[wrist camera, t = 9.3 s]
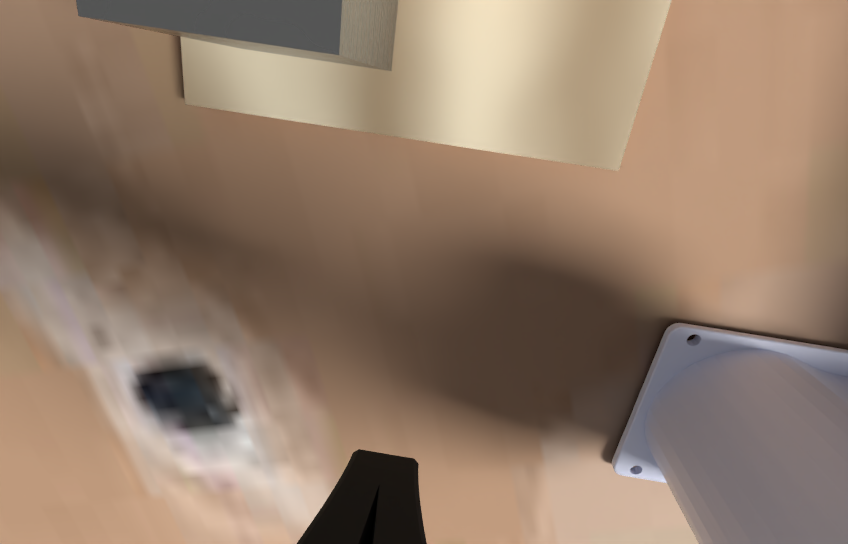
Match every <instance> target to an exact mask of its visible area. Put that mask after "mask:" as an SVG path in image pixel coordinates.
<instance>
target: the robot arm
mask: <svg viewBox="0 0 848 544" xmlns="http://www.w3.org/2000/svg"><path fill="white" fill-rule="evenodd" d="M695 334H696V336H695V338H694V339H692V340H690V341H687V338H688V337H689V336H691V335H695ZM612 466H613V468H614V471H615V472H616V473H617V474H619V475H623V476H629V477H634V478H640V479H646V480H652V481H658V482H664V483H667V484H668V485H669V487H670V489H671V491H672V493H673V495H674V497H675V499H676V501H677V503H678V505H679V506H680V508H681V510H682V512H683V514H684V516H685V518H686V520H687V522H688V524H689V525H690V527H691V529H692V531H693V533H694V535H695V537H696V539H697V541H698V543H699V544H848V350H846V349H840V348H834V347H828V346H821V345H815V344H809V343H803V342H797V341H790V340H784V339H778V338H772V337H766V336H759V335H753V334H747V333H741V332H735V331H728V330H722V329H716V328H710V327H703V326H697V325H691V324H685V323H675V324H672V325H671V326H669V327H668V328H667V329H666V331H665V333H664V335H663V337H662V340H661V342H660V345H659V347H658V350H657V352H656V354H655V357H654V359H653V362H652V364H651V367H650V369H649V372H648V374H647V376H646V379H645V381H644V384H643V386H642V389H641V391H640V394H639V396H638V398H637V401H636V403H635V406H634V408H633V411H632V413H631V416H630V418H629V420H628V423H627V425H626V428H625V430H624V433H623V435H622V437H621V440H620V442H619V445H618V447H617V450H616V452H615V455H614V457H613V459H612ZM633 466H636V467H633ZM297 544H427V543H426V538H425V532H424V526H423V520H422V513H421V506H420V497H419V485H418V463H417V462H416V460H415V459H413V458H407V457H401V456H395V455H389V454H383V453H377V452H371V451H365V450H360V449H359V450H357V451H355V452H353V454H352V457H351V459H350V461H349V463H348V465H347V467H346V469H345V470H344V472H343V474H342V476H341V478H340V479H339V481H338V483H337V484H336V486H335V488H334V489H333V491H332V492H331V494H330V496H329V497H328V499H327V500H326V502H325V504H324V505H323V507H322V508H321V509H320V511H319V512H318V514H317V515H316V517H315V518H314V520H313V521H312V523H311V524H310V525H309V527H308V528H307V530H306V531H305V533H304V534H303V536H302V537H301V538H300V540H299V541H298V542H297Z"/></svg>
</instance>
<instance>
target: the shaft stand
mask: <svg viewBox="0 0 848 544" xmlns="http://www.w3.org/2000/svg"><path fill="white" fill-rule="evenodd" d="M76 2H77V9H78V16H81V17H86V18H91V19H96V20H100V21H105V22H110V23H115V24H120V25H125V26H130V27H135V28H140V29H145V30H150V31H155V32H160V33H165V34H170V35H175V36H180V39H181V53H182V68H183V82H184V96H185V104H186V105H193V106H199V107H206V108H212V109H218V110H225V111H231V112H238V113H244V114H251V115H257V116H264V117H270V118H277V119H283V120H290V121H296V122H303V123H309V124H316V125H322V126H329V127H335V128H342V129H348V130H355V131H361V132H368V133H374V134H381V135H387V136H394V137H400V138H407V139H413V140H420V141H426V142H433V143H439V144H446V145H452V146H459V147H465V148H472V149H478V150H485V151H491V152H498V153H504V154H510V155H517V156H523V157H530V158H536V159H543V160H549V161H556V162H562V163H569V164H575V165H582V166H588V167H595V168H601V169H608V170H614V171H619V168H620V165H621V162H622V158H623V155H624V152H625V149H626V145H627V142H628V139H629V136H630V133H631V129H632V126H633V123H634V120H635V116H636V113H637V110H638V107H639V104H640V100H641V97H642V94H643V91H644V87H645V84H646V81H647V78H648V75H649V71H650V68H651V65H652V62H653V58H654V55H655V52H656V49H657V46H658V42H659V39H660V36H661V33H662V29H663V26H664V23H665V20H666V17H667V13H668V10H669V7H670V4H671V0H76Z"/></svg>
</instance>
